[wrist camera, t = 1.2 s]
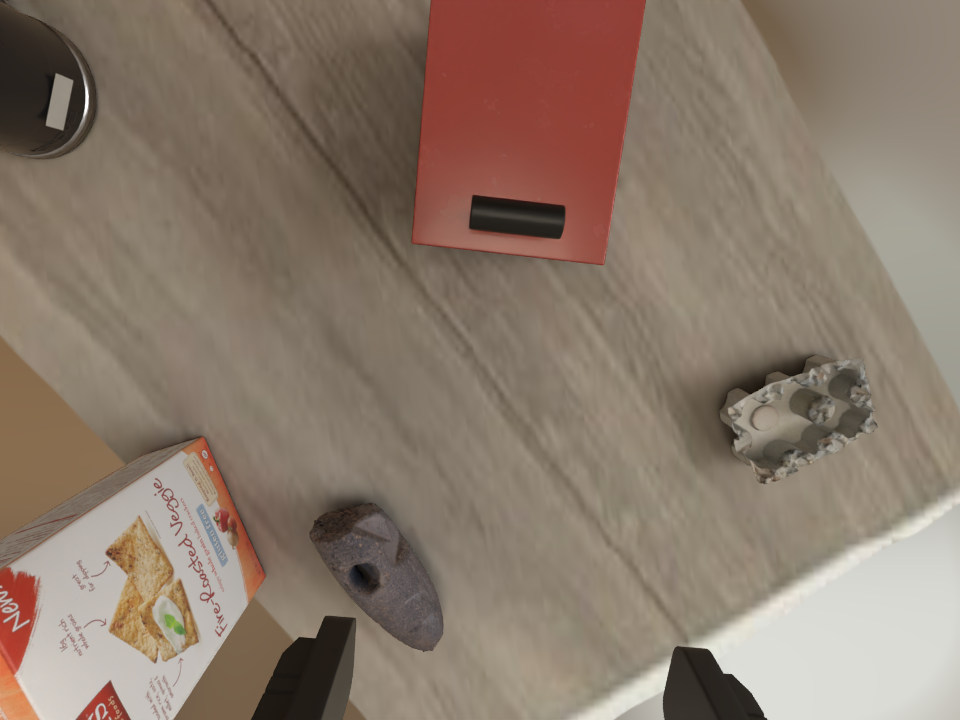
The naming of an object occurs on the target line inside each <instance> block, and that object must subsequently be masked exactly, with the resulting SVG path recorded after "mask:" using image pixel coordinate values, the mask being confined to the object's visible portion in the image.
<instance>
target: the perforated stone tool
mask: <svg viewBox="0 0 960 720" xmlns="http://www.w3.org/2000/svg"><path fill="white" fill-rule="evenodd" d="M314 522H315V523H314V525H313V529H312V530H311V531H310V534H309V535H310V539H311V540H312V542H313V544H314V545H315V547H316V549H317V551H318V553H319V554H320V556H321V558H322V559H323V561H324V563H325V564H326V565H327V567H328V568H329V570H330V571H331V573H332V574H333V576H334V577H335V578H336V580H337V581H338V582H339V584H340V585H341V586H342V587H343V588H344V590H345V591H346V592H347V593H348V595H349V596H350V597H351V598H352V599H353V600H354V601H355V602H356V603H357V605H358V606H359V607H360V608H361V609H362V610H363V611H364V612H365V613H366V614H367V615H368V616H369V617H371V618H372V619H373V620H374V621H375V622H377V623H379V624H380V625H381V627H382V628H383V629H384V630H386V631H387V632H388V633H390V634H391V635H392V636H393V637H395V638H397V639H398V640H399V641H401V642H403V643H404V644H406V645H408V646H410V647H412V648H414V649H418V650H423V652H424V651H433V649H434V647H435V646H436V645H437V643H438V642H439V640H440V639H441V637H442V635H443V616H442V611H441V606H440V603H439V599H438V595H437V592H436V590H435V588H434V585H433V583H432V581H431V579H430V577H429V575H428V574H427V572H426V570H425V569H424V567H423V565H422V564H421V562H420V561H419V559H418V558H417V556H416V555H415V553H414V552H413V551H412V549H411V547H410V546H409V545H408V543H407V541H406V540H405V539H404V537H403V536H402V535H401V534H400V532H399V531H398V530H397V529H396V526H395V524H394V523H393V522H392V521H391V519H390V518H389V517H388V516H387V514H386V513H385V512H384V511H383V510H382V509H381V508H379V507H378V506H377V505H376V504H374V503H368V504H362V505H359V506H352V507H347V508H341V509H338V510H337V511H332V512H327V513H324V514H323V515H321V516H320V517H319V518H318V519H317V520H315V521H314Z"/></svg>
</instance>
